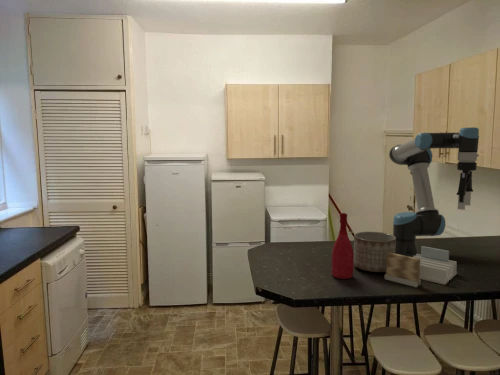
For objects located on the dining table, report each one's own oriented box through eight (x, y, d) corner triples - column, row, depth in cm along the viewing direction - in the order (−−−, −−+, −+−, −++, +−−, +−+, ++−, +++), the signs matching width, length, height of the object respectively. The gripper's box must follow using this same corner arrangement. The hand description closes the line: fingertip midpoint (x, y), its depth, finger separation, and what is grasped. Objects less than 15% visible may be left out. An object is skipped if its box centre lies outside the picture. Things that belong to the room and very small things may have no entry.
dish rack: (403, 274, 167) (404, 251, 165) (416, 265, 179) (417, 243, 178) (444, 284, 154) (446, 259, 153) (456, 273, 167) (457, 250, 166)
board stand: (384, 279, 161) (384, 274, 161) (388, 276, 165) (388, 272, 164) (416, 287, 152) (416, 282, 151) (420, 284, 155) (420, 279, 155)
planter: (377, 278, 162) (378, 243, 160) (345, 266, 179) (346, 234, 177) (403, 270, 173) (404, 237, 171) (370, 259, 189) (371, 229, 187)
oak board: (385, 278, 162) (386, 253, 161) (387, 277, 164) (388, 252, 162) (417, 286, 153) (418, 259, 151) (419, 285, 154) (420, 258, 152)
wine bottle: (349, 281, 159) (351, 216, 155) (328, 277, 164) (329, 214, 161) (355, 274, 167) (357, 212, 164) (335, 271, 172) (336, 210, 169)
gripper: (471, 163, 150) (468, 212, 152) (481, 160, 169) (477, 204, 171) (451, 162, 155) (448, 210, 157) (463, 160, 173) (460, 202, 176)
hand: (464, 207), depth 164 cm, fingers open, 13 cm apart
